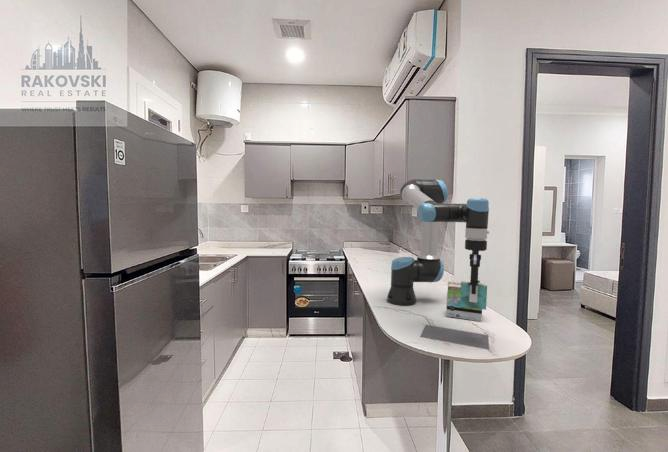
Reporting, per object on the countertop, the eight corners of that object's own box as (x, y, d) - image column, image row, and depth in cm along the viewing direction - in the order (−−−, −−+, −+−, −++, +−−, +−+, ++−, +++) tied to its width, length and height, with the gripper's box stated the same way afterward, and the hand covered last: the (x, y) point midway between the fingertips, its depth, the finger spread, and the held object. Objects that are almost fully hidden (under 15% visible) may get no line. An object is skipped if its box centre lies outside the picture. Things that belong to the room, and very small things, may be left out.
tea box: (446, 317, 146) (447, 285, 145) (446, 310, 156) (447, 281, 155) (482, 322, 141) (483, 289, 140) (480, 314, 150) (481, 284, 149)
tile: (460, 306, 122) (461, 283, 121) (460, 304, 124) (461, 281, 124) (486, 309, 118) (487, 285, 117) (485, 307, 121) (487, 284, 120)
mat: (419, 338, 122) (420, 336, 122) (425, 325, 135) (425, 324, 135) (489, 351, 112) (489, 349, 112) (488, 336, 125) (488, 335, 125)
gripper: (487, 242, 111) (484, 308, 112) (486, 238, 125) (483, 296, 127) (464, 240, 114) (461, 305, 115) (466, 237, 128) (463, 294, 130)
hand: (473, 300), depth 121 cm, fingers closed on tile, 3 cm apart
